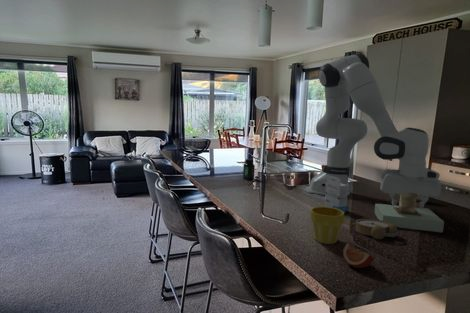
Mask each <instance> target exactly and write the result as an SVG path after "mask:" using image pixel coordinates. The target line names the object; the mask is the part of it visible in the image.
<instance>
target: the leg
mask: <svg viewBox="0 0 470 313" xmlns="http://www.w3.org/2000/svg"><path fill="white" fill-rule="evenodd" d="M417 198H418V196H417V194H416V193H404V194H399V201H398V202H399V203H398V206H399V211H400V213H409V214H415V208H417V207H416V206H417Z"/></svg>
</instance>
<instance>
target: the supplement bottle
mask: <svg viewBox="0 0 470 313" xmlns="http://www.w3.org/2000/svg"><path fill="white" fill-rule="evenodd" d="M244 162H245V163H244V164H243V166H242V167H243V169H242V170H243V171H242V172H243V175H242V178H243V180H246V181H251V180H255V172H256V171H255V170H256V167H255V166H256V165H255V163H254V159H253V158H252V159H251V158H245V161H244Z"/></svg>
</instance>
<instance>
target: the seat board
mask: <svg viewBox="0 0 470 313" xmlns="http://www.w3.org/2000/svg"><path fill="white" fill-rule="evenodd" d="M374 214H375V216H376V218H377V220H378V219H379V220H381V221H385V222H388V223H389V224H390V225H391V224H394V225H395V226H396V227H397V228H398V227H399V228H401V229H406V230H407V229H410V230H419V231H428V232H436V233H443V232H444V225H445V221H444V220H443V219H441V217H439V215H437V214H435V212H434V211H432V210H431V209H430V208H425V207H424V208H421V207H416V208H415V214H409V213H400V211H399V205H391V204H384V203H375V205H374Z"/></svg>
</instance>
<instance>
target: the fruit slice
mask: <svg viewBox="0 0 470 313" xmlns="http://www.w3.org/2000/svg"><path fill="white" fill-rule="evenodd" d="M342 256H343V258H344V260H345V261H346V262H347V263H348V265H349V266H352V267H353V268H355V269H363V268H367V267H369V266H370V265H371V264H372V263H373V262H374V260H375V258H374V257H373V256H372V255H371V254H369V253H367V252H366V251H364V250H361V248H359V249H358V248H356V247H355V246H354V245H352V244H351V243H349V242H347V243H345V245H344V246H343V249H342Z"/></svg>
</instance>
